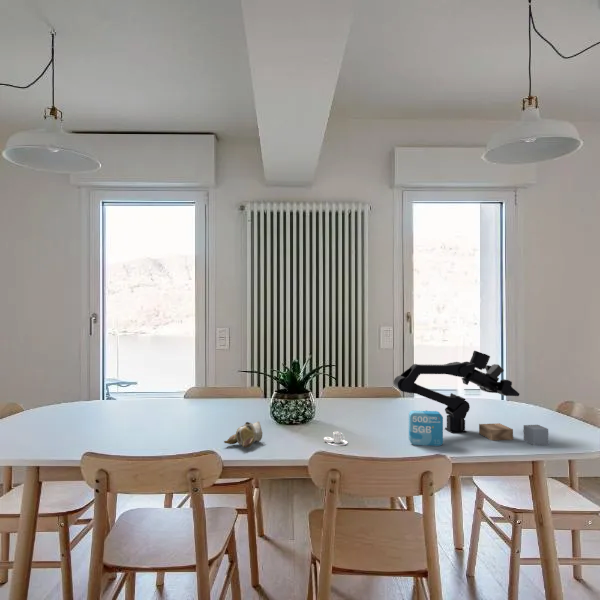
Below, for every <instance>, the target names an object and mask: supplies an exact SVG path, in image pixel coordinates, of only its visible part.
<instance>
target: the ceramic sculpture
mask: <svg viewBox="0 0 600 600" xmlns="http://www.w3.org/2000/svg"><path fill="white" fill-rule="evenodd" d="M262 438H263V429H262V425H261V422H260V421H259V420H258V421H256V422H254V423H252V422H248V421H247V422H245V423H244V425H241V426H239V427H238V428H237V429H236V431H235V434H232V435H231V436H230V437H229V438H228V439H227V440H223V443H224V444H228V445H235V444H237V443H238V445H240V446H242V447H243V448H247V449H248V448H249V447H251V446H252V445H253V443H254V442H255V443H256V442H257V443H259V442H261V440H262Z"/></svg>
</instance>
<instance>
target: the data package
mask: <svg viewBox="0 0 600 600" xmlns="http://www.w3.org/2000/svg"><path fill="white" fill-rule="evenodd" d="M408 412H409V413H408V439H409V442H410V444H411V445H413V446H430V447H431V446H432V447H440V446H442V445H443V443H444V417H443V415H442V414H441V413H440V412H439V411H437V410H410V411H408Z"/></svg>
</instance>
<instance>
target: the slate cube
mask: <svg viewBox="0 0 600 600" xmlns="http://www.w3.org/2000/svg"><path fill="white" fill-rule="evenodd" d="M523 441H524V442H526V443H527V444H531V445H532V446H542V445H543V446H544V445H545V446H547V445H549V428H547V427H544V426H541V425H540V424H524V425H523Z"/></svg>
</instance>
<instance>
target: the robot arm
mask: <svg viewBox="0 0 600 600" xmlns="http://www.w3.org/2000/svg"><path fill="white" fill-rule="evenodd" d="M490 358H491V356H490V355H488V354H487V353H482V352H480V351H477V350H474V351H473V352H472V356H471V357H470V360H469V361H464V362H460V361H453V362H449V363H445V364H418V363H413V364H412V365H411V366H410V367H409V368H407V369H406V370H405V371H403V372H402V373H401V374H400V375H398V376H396V377H395V378H394V379H393V385H394V387H395V388H396V389H398V390H399V391H401V392H403V393H408V394H415V395H416V394H417V395H419V396H422V397H424V398H426V399H430V400H432V401H435V402H436V403H439V404H442V405H445V406H446V407H445V408H444V412H445V414H447V415H446V427H444V430H446V431H447V432H450V433H451V434H458V433H460V434H461V433H467V430H466V420H465V419H466V416H467V413H469V411H470V407H471V406H470V403H469V401H467V399H466V398H464V397H463V396H460V395H456V394H455V393H452V392H450V395H445V394H443V393H440V392H437V391H436V390H433V389H430V388H428V387H425V386H422V385H419V384H417V383H416V381H417V379H418V378H419V376H420V375H448V376H453V377H458V378H461V380H462V384H464V385H467V386H468V385H469V382H470V383H472V384H475V385H476V386H477V387H479V389H480V391H483V392H486V393H489V394H490V393H495V394H498V395H501V396H504V397H519V396H520V392H519V391H517V390H515V388H513V386H512V385H513V381H512V380H509V379H506V378H505V379H504V378H503V379H500V378H499V376H500V375H501V374H502V373H504V371H505V370H504V368H503V367H501V366H500V365H499V364H498V363H497V364H496V363H494V364H491V365H488V363H489V361H490ZM482 370H485V372H486V373H485V372H482ZM499 380H500V381H499Z"/></svg>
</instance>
